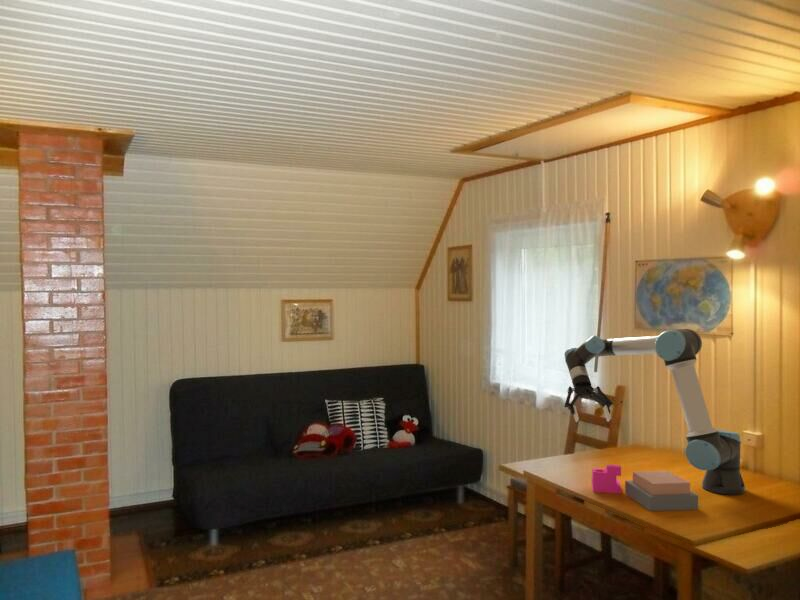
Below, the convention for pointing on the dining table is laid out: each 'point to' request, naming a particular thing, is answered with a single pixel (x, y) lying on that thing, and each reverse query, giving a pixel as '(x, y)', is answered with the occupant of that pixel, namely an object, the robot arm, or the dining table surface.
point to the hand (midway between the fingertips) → (593, 420)
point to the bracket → (606, 479)
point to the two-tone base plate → (661, 491)
